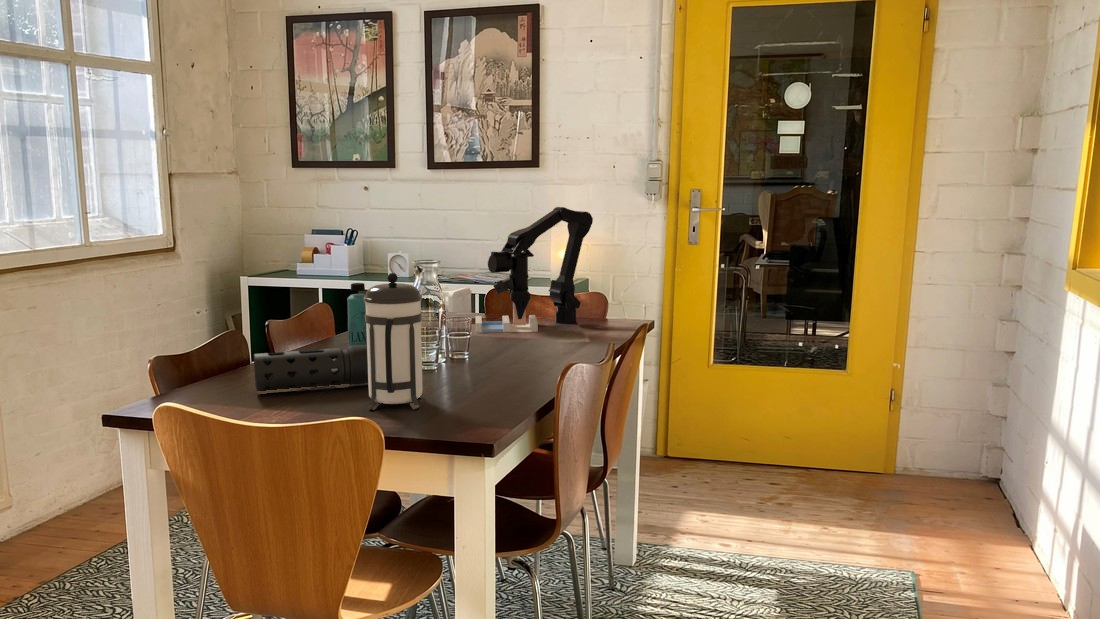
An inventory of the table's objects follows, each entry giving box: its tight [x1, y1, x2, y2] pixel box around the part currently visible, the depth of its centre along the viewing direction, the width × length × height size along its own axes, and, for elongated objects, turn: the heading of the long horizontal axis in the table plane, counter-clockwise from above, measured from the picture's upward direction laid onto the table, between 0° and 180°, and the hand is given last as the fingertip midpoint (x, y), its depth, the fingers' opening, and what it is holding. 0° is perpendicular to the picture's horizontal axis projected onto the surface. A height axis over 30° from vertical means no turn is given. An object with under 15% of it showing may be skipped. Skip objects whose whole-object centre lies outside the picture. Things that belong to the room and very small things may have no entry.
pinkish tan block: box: [512, 302, 527, 325], centre depth 283 cm, size 4×4×9 cm
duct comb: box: [475, 314, 539, 334], centre depth 283 cm, size 20×14×4 cm
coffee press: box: [364, 272, 424, 406], centre depth 191 cm, size 17×16×30 cm
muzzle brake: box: [253, 345, 368, 391], centre depth 207 cm, size 10×28×10 cm, turn 111°
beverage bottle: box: [346, 282, 367, 347], centre depth 252 cm, size 6×7×20 cm
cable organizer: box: [440, 285, 472, 314], centre depth 301 cm, size 15×11×12 cm
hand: (519, 318), depth 283 cm, fingers closed on pinkish tan block, 4 cm apart
